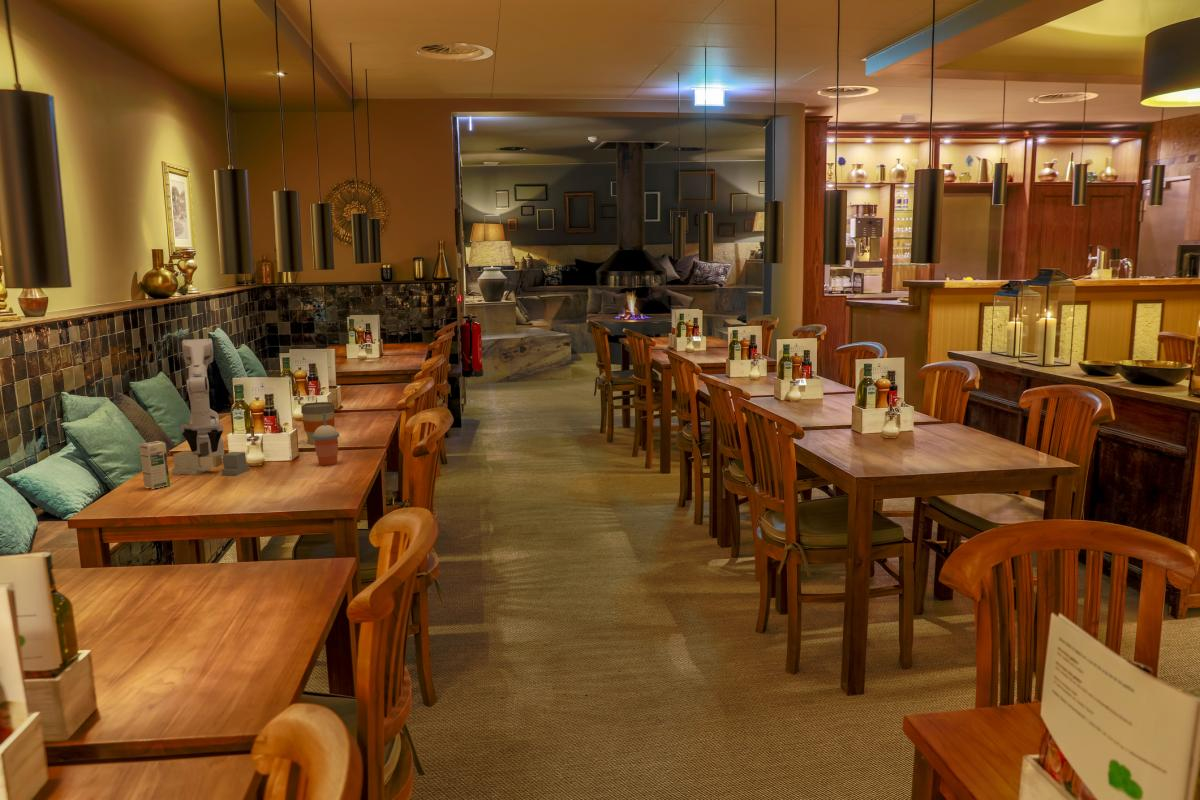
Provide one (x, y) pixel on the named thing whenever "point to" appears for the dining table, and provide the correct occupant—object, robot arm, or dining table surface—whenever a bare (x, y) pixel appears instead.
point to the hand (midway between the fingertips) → (204, 451)
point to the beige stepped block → (188, 463)
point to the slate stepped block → (234, 463)
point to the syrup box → (154, 464)
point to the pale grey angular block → (208, 457)
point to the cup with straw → (326, 443)
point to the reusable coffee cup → (316, 417)
